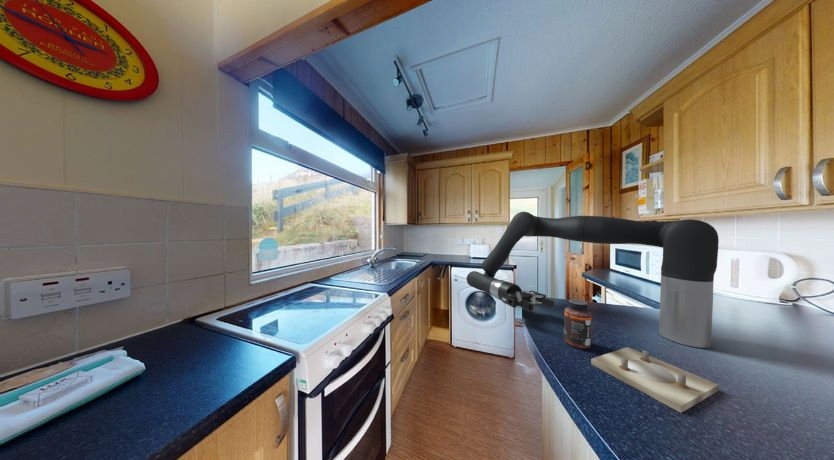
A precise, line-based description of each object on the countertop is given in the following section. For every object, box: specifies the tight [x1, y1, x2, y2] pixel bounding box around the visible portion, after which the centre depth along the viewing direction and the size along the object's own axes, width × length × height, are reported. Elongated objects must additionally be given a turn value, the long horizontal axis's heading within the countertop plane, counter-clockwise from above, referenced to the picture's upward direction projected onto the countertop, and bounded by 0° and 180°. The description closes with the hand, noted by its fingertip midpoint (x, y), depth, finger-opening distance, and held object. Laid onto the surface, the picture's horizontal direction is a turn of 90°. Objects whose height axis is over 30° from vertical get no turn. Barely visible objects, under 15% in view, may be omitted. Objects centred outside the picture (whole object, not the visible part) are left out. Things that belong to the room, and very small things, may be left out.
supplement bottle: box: [563, 299, 593, 350], centre depth 59 cm, size 6×6×11 cm
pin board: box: [590, 346, 719, 414], centre depth 47 cm, size 14×14×3 cm
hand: (543, 306), depth 69 cm, fingers open, 8 cm apart
